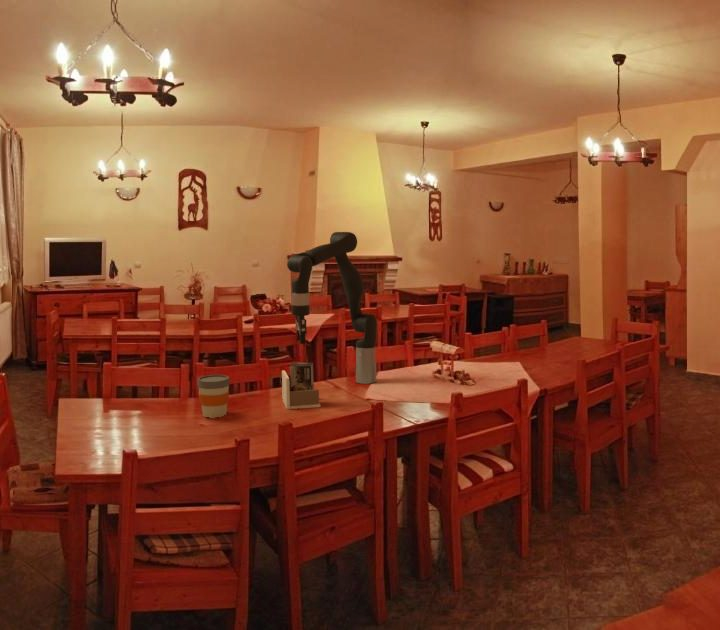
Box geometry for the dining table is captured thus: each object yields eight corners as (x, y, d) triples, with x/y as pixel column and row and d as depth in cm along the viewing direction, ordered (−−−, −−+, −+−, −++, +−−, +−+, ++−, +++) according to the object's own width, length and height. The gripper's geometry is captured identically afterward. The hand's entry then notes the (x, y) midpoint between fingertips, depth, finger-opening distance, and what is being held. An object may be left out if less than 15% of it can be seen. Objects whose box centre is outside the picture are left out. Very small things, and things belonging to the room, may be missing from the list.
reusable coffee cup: (217, 408, 263) (216, 373, 261) (237, 414, 255) (236, 377, 253) (192, 415, 254) (190, 378, 251) (211, 421, 246) (210, 383, 244)
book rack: (314, 397, 279) (313, 368, 278) (320, 406, 265) (320, 376, 263) (282, 399, 276) (281, 370, 274) (286, 409, 262) (286, 378, 260)
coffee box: (314, 399, 273) (313, 362, 271) (312, 403, 267) (311, 365, 265) (293, 398, 274) (292, 362, 272) (290, 402, 268) (289, 365, 265)
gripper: (312, 305, 259) (312, 344, 261) (306, 301, 273) (307, 338, 275) (293, 306, 257) (294, 345, 259) (289, 302, 271) (290, 339, 273)
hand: (301, 342), depth 267 cm, fingers open, 8 cm apart
